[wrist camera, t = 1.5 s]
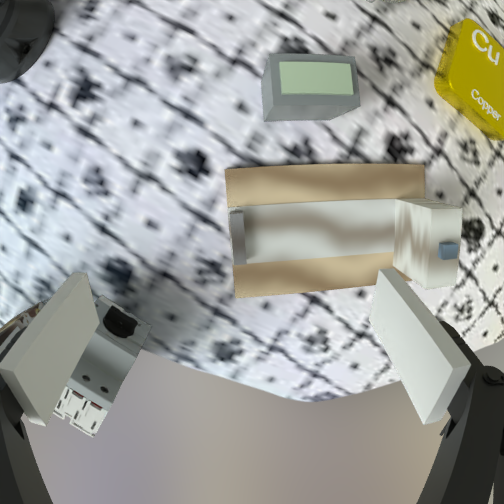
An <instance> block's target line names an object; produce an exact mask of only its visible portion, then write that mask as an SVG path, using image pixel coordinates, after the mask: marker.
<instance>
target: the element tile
mask: <svg viewBox="0 0 504 504" xmlns="http://www.w3.org/2000/svg"><path fill="white" fill-rule="evenodd" d="M434 86H435V89H436V91H437V93H438V94H439V95H440V96H441V97H442V98H443V99H444V100H445V101H447V102H448V103H449V104H450V105H452V106H453V107H454V108H455V109H457V110H458V111H459V112H460V113H461V114H463V115H464V116H465V117H466V118H467V119H468V120H470V121H471V122H472V123H473V124H474V125H475V126H476V127H477V128H479V129H480V130H481V131H482V132H483V133H484V134H485V135H486V136H487V137H488V138H490V139H491V140H504V48H503V47H502V46H501V45H500V44H499V43H498V42H497V41H496V40H495V39H494V38H492V37H491V36H490V35H489V34H488V33H487V32H486V31H485V30H484V29H483V28H482V27H481V26H479V25H478V24H477V23H476V22H475V21H473V20H471V19H468V18H466V19H464V20H462V21H460V22H458V23H456V24H454V25H453V26H451V28H450V31H449V34H448V38H447V41H446V44H445V48H444V51H443V54H442V57H441V60H440V63H439V67H438V70H437V73H436V76H435V79H434Z"/></svg>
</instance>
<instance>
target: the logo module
mask: <svg viewBox="0 0 504 504" xmlns="http://www.w3.org/2000/svg"><path fill="white" fill-rule="evenodd" d="M261 90H262V103H263V117H264V122H267V121H297V120H331V119H333V118H335V117H337V116H339V115H342V114H344V113H346V112H348V111H351V110H353V109H355V108H358V107H360V97H359V87H358V78H357V70H356V62H355V57H352V56H339V55H321V54H269V56H268V60H267V63H266V67H265V70H264V74H263V77H262V81H261Z"/></svg>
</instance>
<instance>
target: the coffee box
mask: <svg viewBox="0 0 504 504" xmlns="http://www.w3.org/2000/svg"><path fill="white" fill-rule="evenodd" d="M43 307H44V304H43V303H42V302H40V303H38V304H36V305H34V306H33V307H31V308H29V309H28V310H26V311H24V312H22V313H21V314H19V315H17V316H16V317H14V318H12V319H11V320H10V321H9V322H7V323H6V324H5V325H4V326H3V327H1V328H0V354H1V352H2V351H3V350H4V349H5V347H6V346H7V345H8V343H10V341H11V339H12V338H13V337H14V335H15V334H16V333H17V332H18V331H20V330H21V329H23V328H24V327H25V326H29V324H30V323H31V322H32V321H33V319H34V318H35V317H36V316H37V314H38V313H39V312H40V311H41V309H42V308H43Z"/></svg>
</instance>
